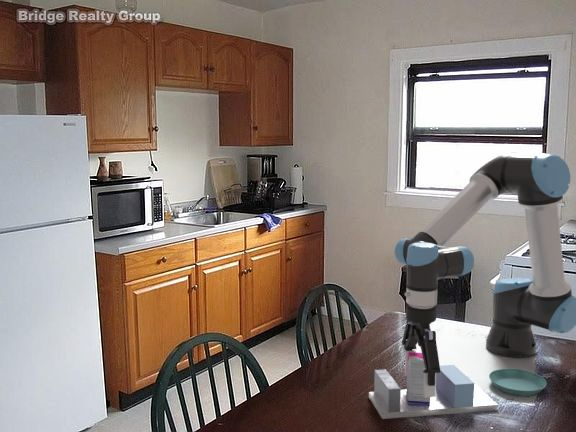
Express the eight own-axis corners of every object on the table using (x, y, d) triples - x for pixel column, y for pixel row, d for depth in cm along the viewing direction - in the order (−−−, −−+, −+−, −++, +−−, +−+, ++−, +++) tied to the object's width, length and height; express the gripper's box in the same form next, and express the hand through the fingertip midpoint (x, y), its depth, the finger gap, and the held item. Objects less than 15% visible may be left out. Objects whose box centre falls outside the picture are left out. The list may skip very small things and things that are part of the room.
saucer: (503, 372, 170) (503, 364, 170) (555, 387, 160) (555, 378, 159) (478, 388, 160) (479, 378, 159) (532, 405, 149) (532, 395, 149)
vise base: (475, 389, 158) (476, 363, 157) (497, 410, 146) (498, 381, 145) (368, 397, 154) (369, 370, 153) (382, 418, 142) (382, 389, 141)
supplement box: (431, 404, 146) (432, 360, 145) (407, 403, 147) (408, 359, 146) (428, 394, 152) (430, 352, 150) (405, 393, 153) (406, 351, 151)
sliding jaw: (453, 386, 157) (453, 364, 156) (473, 406, 145) (474, 383, 144) (435, 387, 156) (436, 365, 155) (454, 407, 144) (455, 384, 144)
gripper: (391, 292, 158) (389, 366, 161) (425, 320, 133) (423, 408, 136) (417, 291, 159) (415, 365, 162) (456, 319, 134) (453, 406, 137)
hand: (419, 385), depth 149 cm, fingers open, 13 cm apart
